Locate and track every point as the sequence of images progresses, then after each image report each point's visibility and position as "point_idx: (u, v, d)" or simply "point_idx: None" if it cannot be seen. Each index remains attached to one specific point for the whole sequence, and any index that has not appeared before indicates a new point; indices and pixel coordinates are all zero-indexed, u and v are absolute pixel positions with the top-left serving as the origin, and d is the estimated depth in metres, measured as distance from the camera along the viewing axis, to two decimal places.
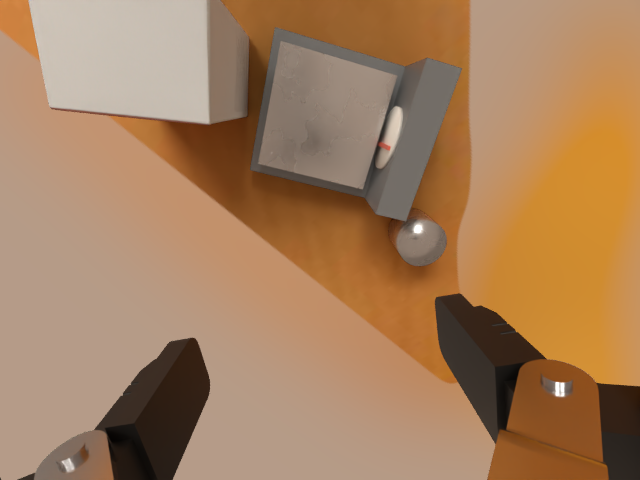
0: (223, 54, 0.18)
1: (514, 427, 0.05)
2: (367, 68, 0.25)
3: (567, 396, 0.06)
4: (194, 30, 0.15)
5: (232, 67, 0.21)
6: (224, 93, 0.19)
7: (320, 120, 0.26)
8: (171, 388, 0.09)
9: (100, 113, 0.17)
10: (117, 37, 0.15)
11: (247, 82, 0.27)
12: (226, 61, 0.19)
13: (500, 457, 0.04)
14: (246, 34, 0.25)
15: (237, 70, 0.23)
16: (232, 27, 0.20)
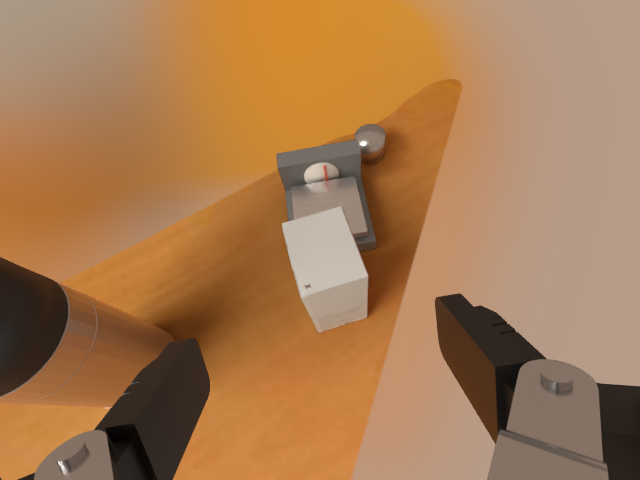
0: None
1: (514, 427, 0.05)
2: (292, 200, 0.44)
3: (567, 396, 0.06)
4: (302, 222, 0.32)
5: None
6: None
7: None
8: (170, 388, 0.09)
9: (359, 252, 0.29)
10: (318, 250, 0.30)
11: None
12: None
13: (500, 457, 0.04)
14: None
15: None
16: None
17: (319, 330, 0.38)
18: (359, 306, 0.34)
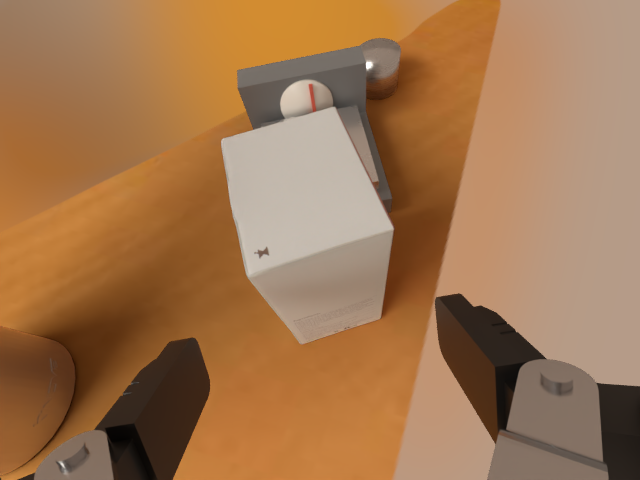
0: None
1: (514, 427, 0.05)
2: None
3: (567, 396, 0.06)
4: (259, 135, 0.16)
5: None
6: None
7: None
8: (170, 389, 0.09)
9: (373, 184, 0.14)
10: (288, 183, 0.15)
11: None
12: None
13: (500, 457, 0.04)
14: None
15: None
16: None
17: (302, 340, 0.23)
18: (369, 299, 0.19)
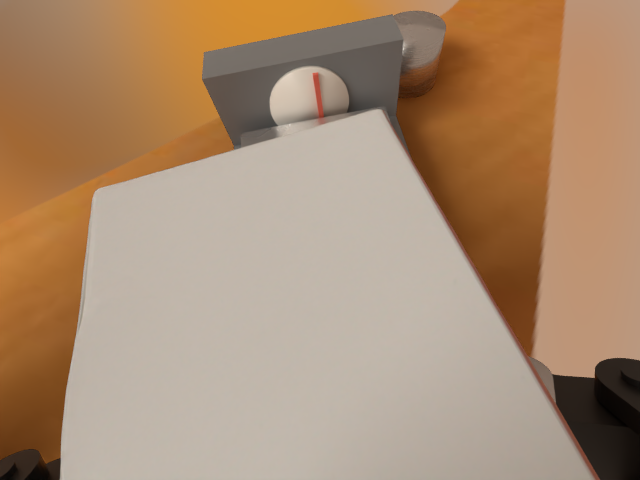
0: None
1: None
2: None
3: None
4: (187, 183, 0.06)
5: None
6: None
7: None
8: None
9: (539, 379, 0.04)
10: (252, 355, 0.04)
11: None
12: None
13: None
14: None
15: None
16: None
17: None
18: None
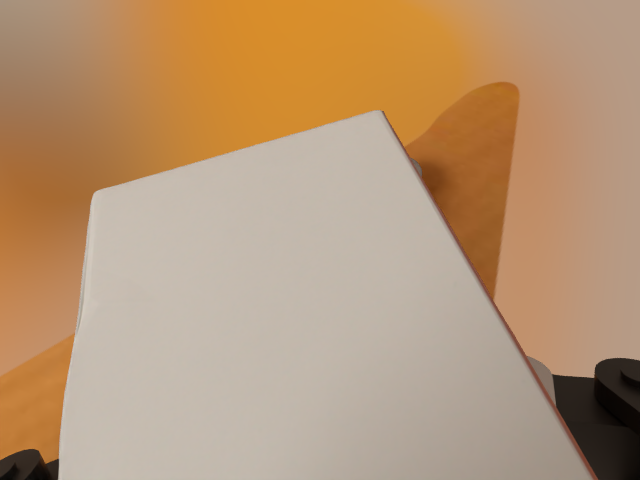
0: None
1: None
2: None
3: None
4: (186, 185, 0.06)
5: None
6: None
7: None
8: None
9: (540, 382, 0.04)
10: (251, 358, 0.04)
11: None
12: None
13: None
14: None
15: None
16: None
17: None
18: None
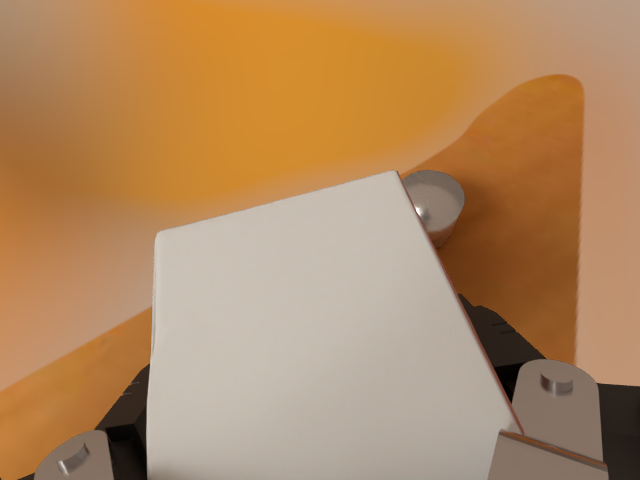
0: None
1: None
2: None
3: (567, 396, 0.06)
4: (234, 231, 0.08)
5: None
6: None
7: None
8: None
9: (512, 409, 0.05)
10: (291, 381, 0.06)
11: None
12: None
13: (500, 457, 0.04)
14: None
15: None
16: None
17: None
18: None
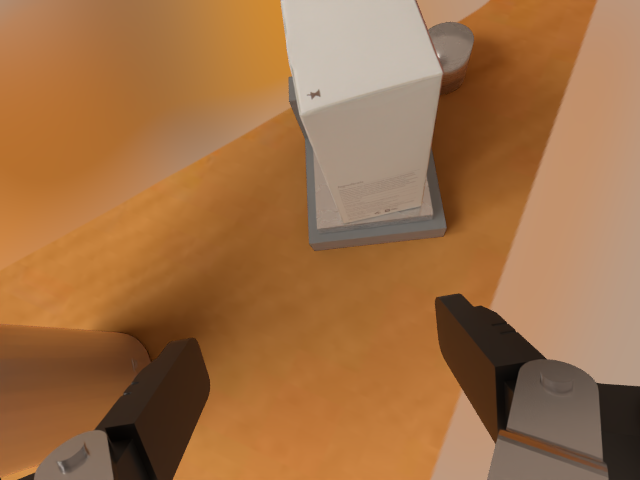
0: None
1: (514, 427, 0.05)
2: (314, 157, 0.29)
3: (567, 396, 0.06)
4: None
5: None
6: None
7: None
8: (171, 389, 0.09)
9: (428, 32, 0.14)
10: (343, 32, 0.15)
11: None
12: None
13: (500, 457, 0.04)
14: None
15: None
16: None
17: (344, 218, 0.25)
18: (411, 173, 0.20)
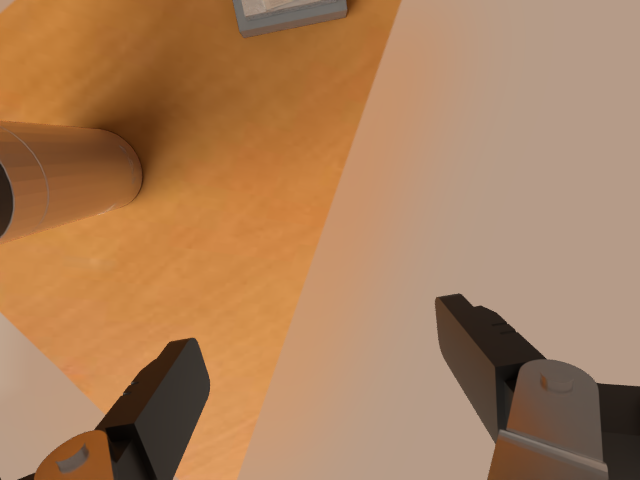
0: None
1: (514, 427, 0.05)
2: None
3: (567, 396, 0.06)
4: None
5: None
6: None
7: None
8: (171, 388, 0.09)
9: None
10: None
11: None
12: None
13: (500, 457, 0.04)
14: None
15: None
16: None
17: (267, 4, 0.30)
18: None
